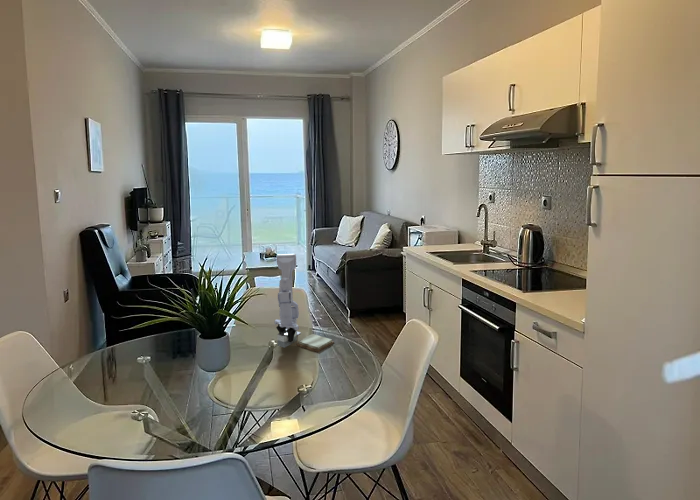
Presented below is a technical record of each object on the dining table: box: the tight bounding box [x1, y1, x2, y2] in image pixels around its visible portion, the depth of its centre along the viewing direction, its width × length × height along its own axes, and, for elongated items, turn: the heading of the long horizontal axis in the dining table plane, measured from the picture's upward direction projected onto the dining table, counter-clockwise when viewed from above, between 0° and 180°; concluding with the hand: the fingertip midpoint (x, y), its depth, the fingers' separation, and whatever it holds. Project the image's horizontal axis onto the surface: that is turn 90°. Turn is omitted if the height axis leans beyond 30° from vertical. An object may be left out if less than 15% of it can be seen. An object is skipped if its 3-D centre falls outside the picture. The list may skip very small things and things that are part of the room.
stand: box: [296, 333, 335, 353], centre depth 262 cm, size 14×13×2 cm
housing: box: [276, 329, 298, 348], centre depth 254 cm, size 4×9×6 cm, turn 144°
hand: (287, 340), depth 255 cm, fingers closed on housing, 4 cm apart
